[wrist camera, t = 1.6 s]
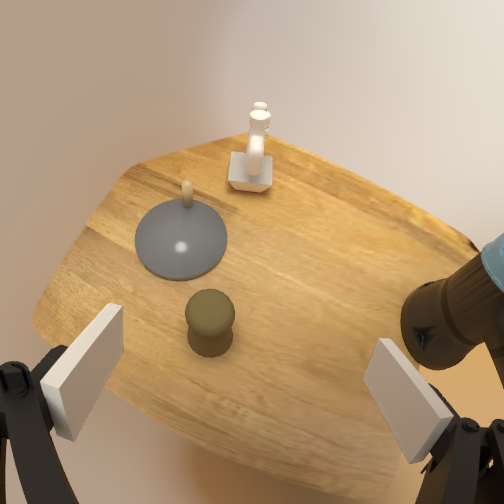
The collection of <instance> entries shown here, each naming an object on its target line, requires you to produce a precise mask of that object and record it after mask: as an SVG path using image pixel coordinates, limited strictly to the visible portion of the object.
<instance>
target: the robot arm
mask: <svg viewBox="0 0 504 504" xmlns="http://www.w3.org/2000/svg"><path fill="white" fill-rule="evenodd" d="M401 328H402V334H403V338H404V341H405V344H406V346H407V348H408V350H409V352H410V353H411V355H412V356H413V357H414V359H415V360H416V361H417V362H418V363H420V364H421V365H423V366H424V367H426V368H428V369H432V370H444V369H447V368H450V367H452V366H455V365H456V364H458V363H459V362H460V361H462V359H464V357H465V356H466V355H467V354H468V353H469V352H470V351H471V350H472V349H473V348H474V347H476V346H477V345H478V344H480V343H483V342H485V344H486V346H487V348H488V350H489V353H490V355H491V357H492V360H493V362H494V365H495V367H496V370H497V372H498V375H499V377H500V380H501V383H502V385H503V388H504V233H503V234H502V235H500V236H499V237H498V238H497V239H495V240H494V241H493V242H491V243H488V244H487V245H485V247H484V248H483V249H482V251H481V252H480V253H479V254H478V255H477V256H475V257H474V258H473V259H472V260H470V261H469V262H468V263H467V264H465V265H464V266H463V267H462V268H460V269H459V270H458V271H456V272H455V273H454V274H453V275H451V276H450V277H449V278H445V279H441V280H437V281H434V282H428V283H425V284H423V285H421V286H420V287H418V288H417V289H416V290H414V291H413V292H412V293H411V294H410V295H409V296H408V298H407V299H406V301H405V303H404V306H403V309H402V314H401ZM123 353H124V348H123V306H121V305H116V304H111V303H108V304H107V305H106V306H105V307H104V308H103V310H102V311H101V312H100V313H99V314H98V315H97V316H96V317H95V318H94V319H93V320H92V322H91V323H90V324H89V325H88V326H87V327H86V328H85V329H84V330H83V332H82V333H81V334H80V335H79V336H78V337H77V338H76V340H75V341H74V342H73V343H72V344H71V345H70V346H69V347H67V346H64V345H59V346H57V347H55V348H53V349H51V350H50V351H49V353H48V354H47V355H46V356H45V357H44V358H43V359H42V360H41V362H40V363H38V364H37V366H36V367H35V368H34V369H33V370H32V371H31V372H30V371H29V369H28V367H27V366H26V365H25V364H23V363H21V362H18V361H15V362H14V361H10V362H7V363H4V364H2V365H1V366H0V504H6V492H5V463H6V444H7V439H10V443H11V448H12V452H13V457H14V460H15V465H16V468H17V472H18V475H19V479H20V482H21V485H22V489H23V491H24V495H25V498H26V501H27V503H28V504H79V502H78V501H77V498H76V496H75V494H74V492H73V490H72V488H71V486H70V483H69V481H68V479H67V477H66V474H65V472H64V470H63V467H62V465H61V462H60V460H59V457H58V454H57V452H56V449H55V446H54V444H53V441H52V438H51V435H50V431H51V429H52V427H53V426H54V428H55V430H56V433H57V435H58V436H60V437H63V438H66V439H68V440H71V441H73V442H74V441H75V440H76V438H77V436H78V434H79V432H80V430H81V428H82V426H83V424H84V422H85V421H86V419H87V417H88V415H89V413H90V411H91V409H92V408H93V406H94V404H95V402H96V400H97V399H98V397H99V395H100V393H101V391H102V389H103V388H104V386H105V384H106V382H107V381H108V379H109V377H110V375H111V374H112V372H113V370H114V368H115V367H116V365H117V363H118V361H119V360H120V358H121V356H122V355H123ZM363 381H364V383H365V384H366V386H367V388H368V390H369V391H370V393H371V395H372V397H373V399H374V400H375V402H376V404H377V406H378V408H379V409H380V411H381V413H382V415H383V417H384V418H385V420H386V422H387V424H388V426H389V428H390V429H391V431H392V433H393V435H394V437H395V439H396V440H397V442H398V444H399V446H400V448H401V450H402V452H403V453H404V455H405V457H406V459H407V461H408V463H409V464H412V463H417V462H420V461H423V460H424V459H425V457H426V456H427V454H428V453H429V452H430V453H431V455H432V456H433V457H432V458H431V460H430V461H429V462H428V463H427V465H426V466H425V467H424V468H423V470H422V471H421V474H422V473H423V472H424V471H425V470H426V473H425V476H424V479H423V483H422V485H421V488H420V491H419V494H418V497H417V500H416V503H415V504H504V420H501V419H495V420H493V422H492V424H491V425H490V426H489V428H482V427H480V426H479V424H478V423H477V422H476V421H474V420H472V419H470V418H460V416H459V415H458V414H457V413H456V411H455V410H454V409H453V408H452V407H451V405H450V404H449V403H448V402H447V400H446V399H445V398H444V397H442V394H441V393H440V392H439V390H438V389H436V388H435V387H434V386H432V385H431V384H430V383H427V382H426V380H425V379H424V378H423V377H422V376H421V374H420V373H419V372H418V371H417V370H416V368H415V367H414V366H413V365H412V364H411V362H410V361H409V360H408V359H407V358H406V356H405V355H404V354H403V353H402V352H401V350H400V349H399V348H398V347H397V346H396V345H395V343H394V342H393V341H392V340H391V339H390V338H378V341H377V344H376V347H375V349H374V352H373V354H372V357H371V360H370V362H369V365H368V367H367V370H366V372H365V375H364V377H363ZM492 459H493V465H492V466H491V467H489V463H490V461H491V460H492Z"/></svg>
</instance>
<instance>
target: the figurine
mask: <svg viewBox="0 0 504 504" xmlns="http://www.w3.org/2000/svg"><path fill="white" fill-rule="evenodd" d="M267 110H268V107H267V105H266V104H265V103H263V102H256V103H255V104H254V105H253V110H252V112H250V129H249V135H248V142H247V148H246V153H241V152H232V154H231V161H230V168H229V175H228V181H229V183H230V184H231V185H232V186H233V187H234V189H235V190H242V191H251V192H259V193H261V192H262V191H264V190H266V189H267V188H269V187H271V186H272V156H265V155H264V142H265V136H267V132H268V128H269V127H268V125H269V121H270V116H271V114H270V112H268V111H267Z"/></svg>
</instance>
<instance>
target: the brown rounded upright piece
mask: <svg viewBox="0 0 504 504" xmlns="http://www.w3.org/2000/svg"><path fill="white" fill-rule="evenodd" d="M185 316H186V321H187V324H188V325H189V328H188V335H187V337H188V342H189V344H190V346H191V348H192V349H193V350H194V351H195V352H196V353H197V354H199V355H201V356H204V357H211V358H212V357H217V356H220V355H222V354H223V353H225V352H226V351H227V350H228V349H229V348H230V345H231V343H232V338H233V333H232V329H231V326H232V324H233V322H234V319H235V310H234V306H233V303H232V302H231V300H230V299H229V297H228V296H227V295H225V294H224V293H223V292H221V291H218V290H215V289H205V290H201V291H199V292H197V293H195V294H194V295H193V296H192V297H191V298H190V299H189V301H188V303H187V305H186V310H185Z"/></svg>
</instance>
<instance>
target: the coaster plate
mask: <svg viewBox="0 0 504 504" xmlns="http://www.w3.org/2000/svg"><path fill="white" fill-rule="evenodd" d="M182 195H183V199H175V200H170V201H166V202H164V203H161V204H159V205H157V206H155V207H154V208H152V209H151V210H150V211H149V212H148V213H147V214H146V215H145V216H144V217H143V218H142V220H141V221H140V223H139V225H138V227H137V230H136V234H135V247H136V250H137V253H138V256H139V258H140V260H141V262H142V263H143V265H144V266H145V267H146V268H147V269H148V270H149V271H150V272H151V273H153V274H155V275H156V276H158V277H161V278H163V279H167V280H172V281H187V280H192V279H195V278H198V277H200V276H202V275H204V274H206V273H208V272H209V271H210V270H212V269H213V268H214V267H215V266H216V265H217V264H218V262H219V261H220V260H221V258H222V256H223V254H224V251H225V247H226V240H227V233H226V227H225V224H224V222H223V220H222V218H221V217H220V215H219V214H218V213H217V212H216V211H215V210H214V209H213V208H211V207H210V206H208V205H206V204H204V203H202V202H199V201H196V200H193V188H192V181H191V180H190V179H185V180H183V181H182Z"/></svg>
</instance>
